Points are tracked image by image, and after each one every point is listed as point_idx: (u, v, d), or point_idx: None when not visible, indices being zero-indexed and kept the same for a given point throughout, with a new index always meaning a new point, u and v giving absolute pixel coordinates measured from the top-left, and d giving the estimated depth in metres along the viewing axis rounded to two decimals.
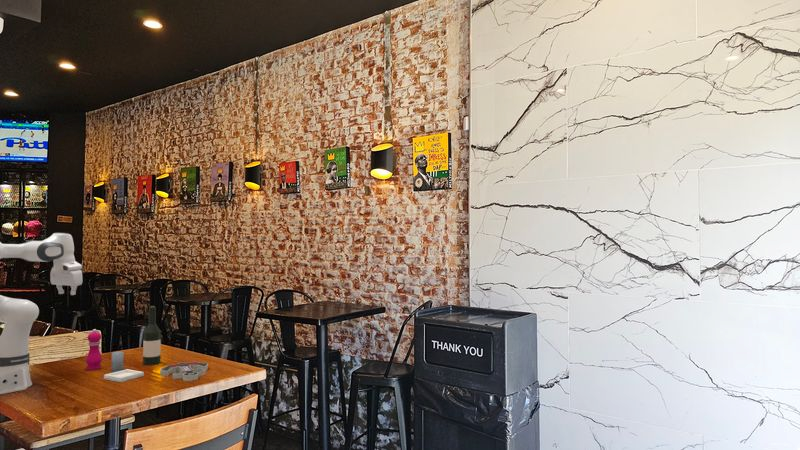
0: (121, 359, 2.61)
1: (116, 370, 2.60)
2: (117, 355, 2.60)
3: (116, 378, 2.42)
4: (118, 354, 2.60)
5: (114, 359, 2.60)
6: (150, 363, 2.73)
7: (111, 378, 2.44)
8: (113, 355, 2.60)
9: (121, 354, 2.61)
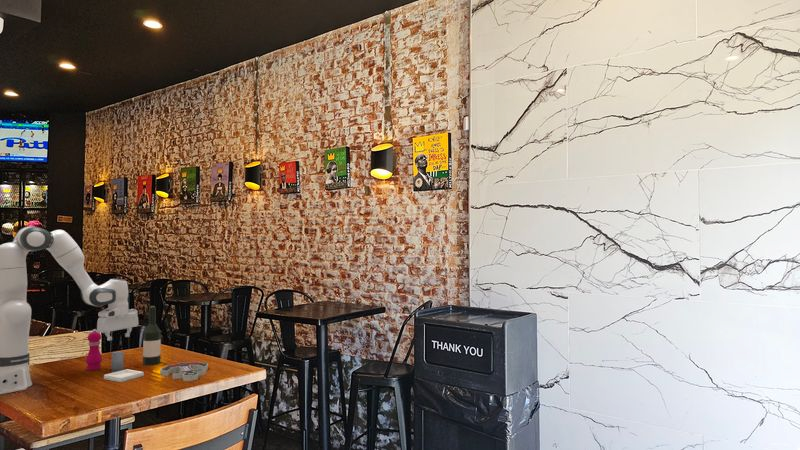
0: (121, 359, 2.61)
1: (116, 370, 2.60)
2: (117, 355, 2.60)
3: (116, 378, 2.42)
4: (118, 354, 2.60)
5: (114, 359, 2.60)
6: (150, 363, 2.73)
7: (111, 378, 2.44)
8: (113, 355, 2.60)
9: (121, 354, 2.61)
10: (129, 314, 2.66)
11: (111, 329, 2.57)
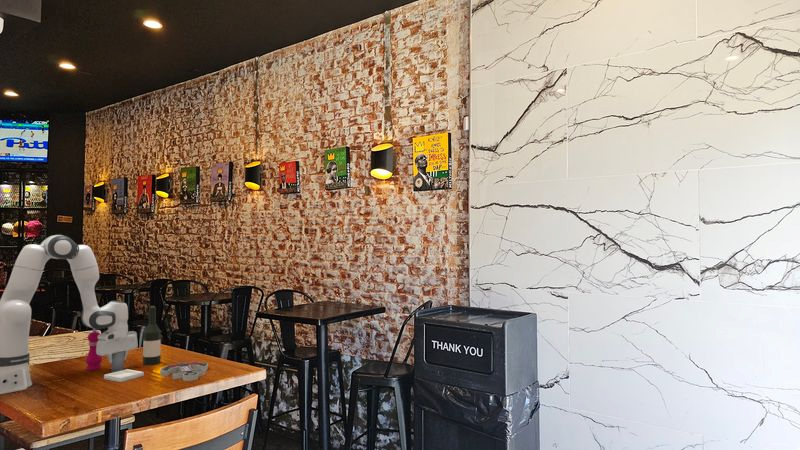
0: (121, 359, 2.61)
1: (116, 370, 2.60)
2: (117, 355, 2.60)
3: (116, 378, 2.42)
4: (118, 354, 2.60)
5: (114, 359, 2.60)
6: (150, 363, 2.73)
7: (111, 378, 2.44)
8: (113, 355, 2.60)
9: (121, 354, 2.61)
10: (128, 336, 2.66)
11: (110, 352, 2.57)
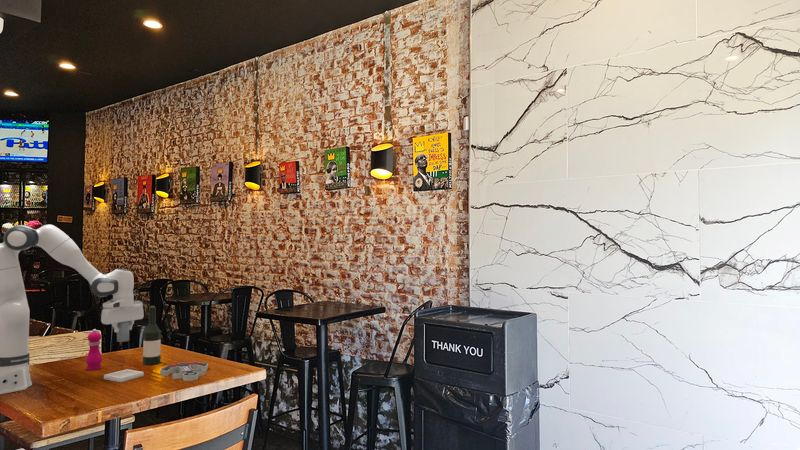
0: (127, 329, 2.52)
1: (122, 340, 2.51)
2: (123, 325, 2.51)
3: (116, 378, 2.42)
4: (124, 323, 2.51)
5: (120, 328, 2.51)
6: (150, 363, 2.73)
7: (111, 378, 2.44)
8: (119, 324, 2.51)
9: (127, 323, 2.52)
10: (134, 306, 2.57)
11: (116, 321, 2.48)
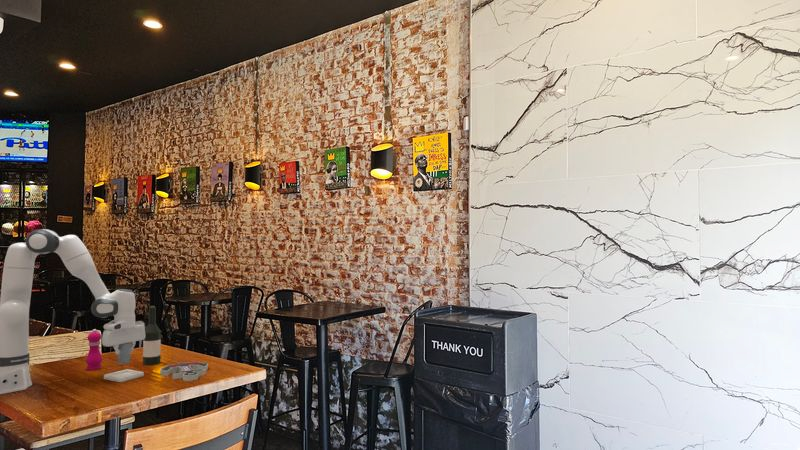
0: (128, 350, 2.48)
1: (123, 362, 2.47)
2: (124, 346, 2.47)
3: (116, 378, 2.42)
4: (125, 345, 2.47)
5: (121, 350, 2.47)
6: (150, 363, 2.73)
7: (111, 378, 2.44)
8: (120, 346, 2.47)
9: (128, 345, 2.48)
10: (136, 327, 2.53)
11: (117, 343, 2.44)
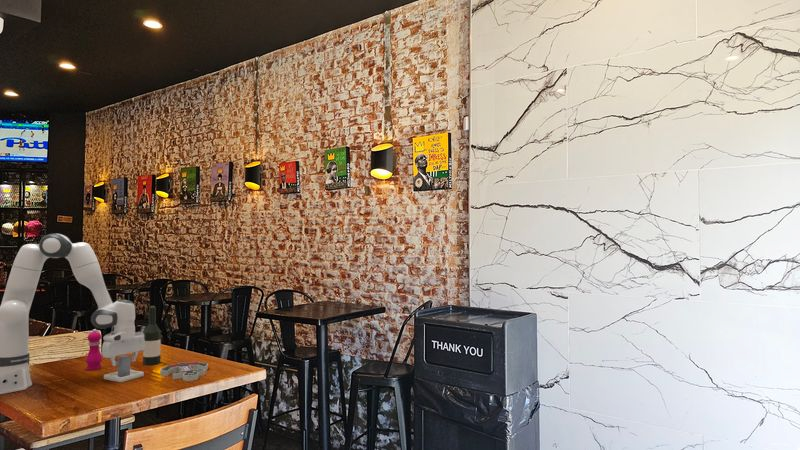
0: (128, 364, 2.48)
1: (123, 375, 2.47)
2: (124, 360, 2.47)
3: (116, 378, 2.42)
4: (125, 358, 2.47)
5: (121, 363, 2.47)
6: (150, 363, 2.73)
7: (111, 378, 2.44)
8: (119, 359, 2.47)
9: (128, 358, 2.48)
10: (136, 338, 2.53)
11: (116, 354, 2.44)
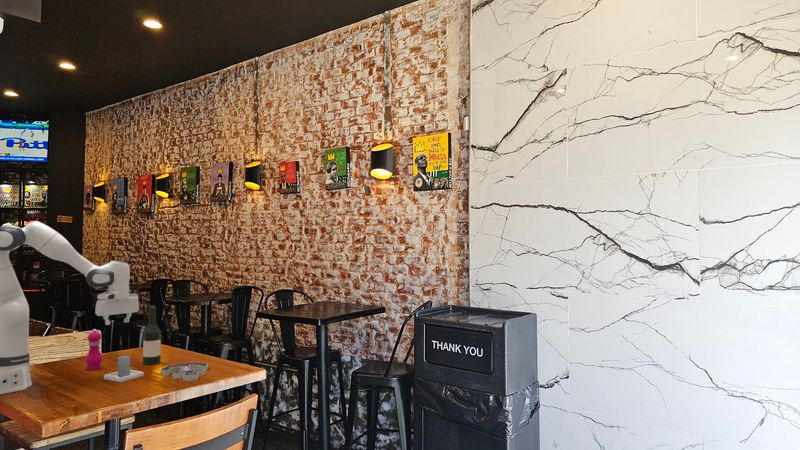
0: (128, 364, 2.48)
1: (123, 375, 2.47)
2: (124, 360, 2.47)
3: (116, 378, 2.42)
4: (125, 358, 2.47)
5: (121, 364, 2.47)
6: (150, 363, 2.73)
7: (111, 378, 2.44)
8: (119, 360, 2.47)
9: (128, 358, 2.48)
10: (129, 298, 2.55)
11: (110, 313, 2.46)
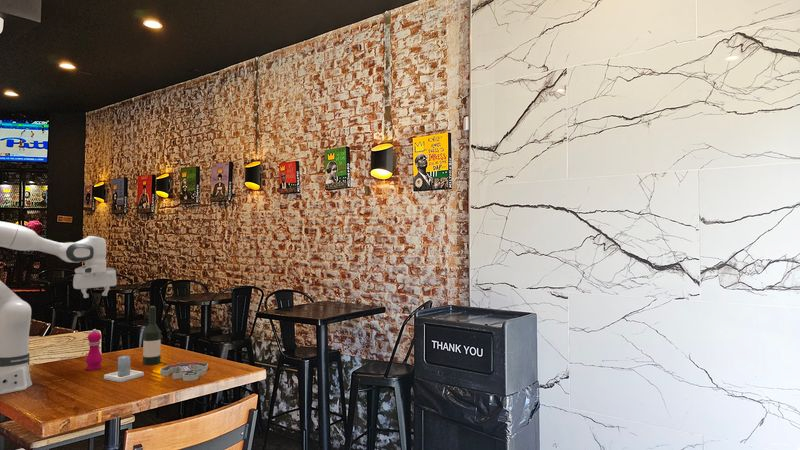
0: (128, 364, 2.48)
1: (123, 375, 2.47)
2: (124, 360, 2.47)
3: (116, 378, 2.42)
4: (125, 358, 2.47)
5: (121, 363, 2.47)
6: (150, 363, 2.73)
7: (111, 378, 2.44)
8: (119, 360, 2.47)
9: (128, 358, 2.48)
10: (107, 273, 2.62)
11: (88, 286, 2.53)
